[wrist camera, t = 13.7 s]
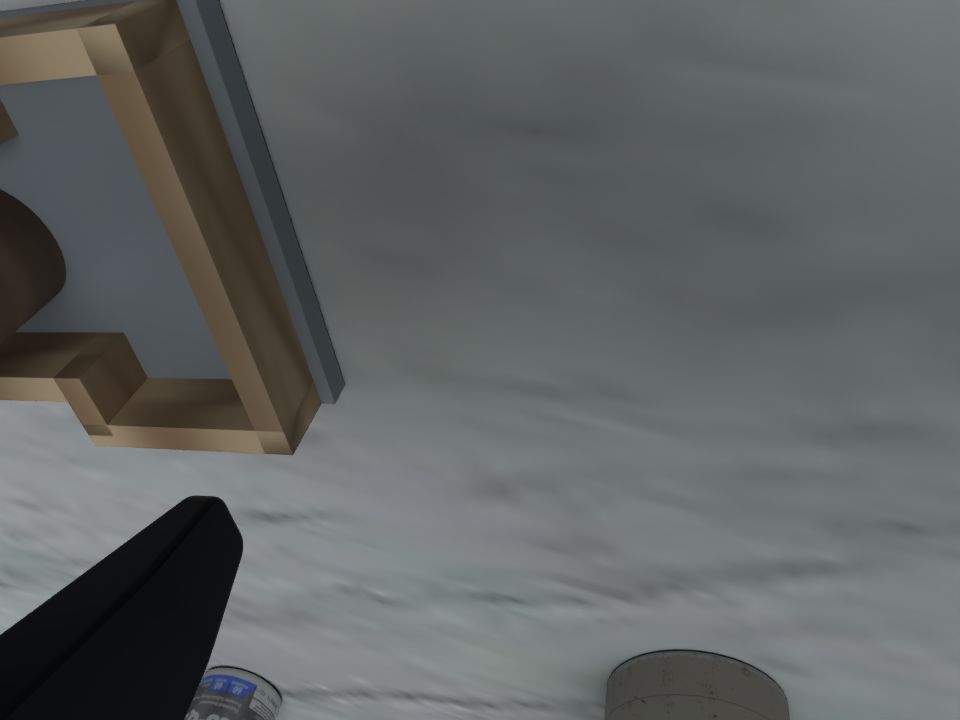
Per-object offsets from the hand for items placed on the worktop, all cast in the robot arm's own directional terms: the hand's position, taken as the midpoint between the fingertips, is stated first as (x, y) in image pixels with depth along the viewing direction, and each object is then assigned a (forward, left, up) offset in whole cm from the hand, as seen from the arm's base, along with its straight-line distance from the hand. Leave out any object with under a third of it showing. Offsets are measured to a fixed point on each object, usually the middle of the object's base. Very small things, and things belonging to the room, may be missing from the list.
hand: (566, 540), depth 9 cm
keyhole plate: (+4, +17, -13) cm, 22 cm away
